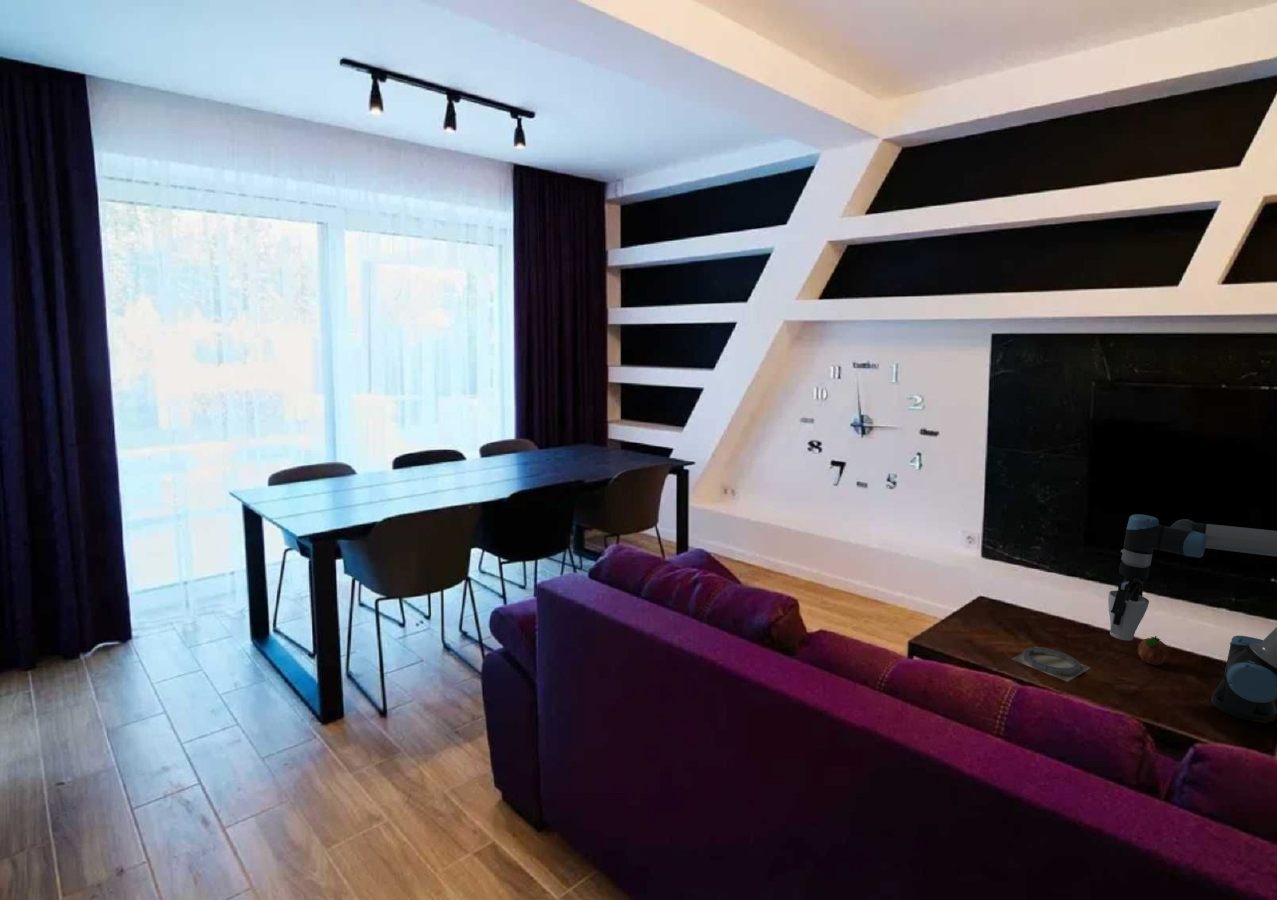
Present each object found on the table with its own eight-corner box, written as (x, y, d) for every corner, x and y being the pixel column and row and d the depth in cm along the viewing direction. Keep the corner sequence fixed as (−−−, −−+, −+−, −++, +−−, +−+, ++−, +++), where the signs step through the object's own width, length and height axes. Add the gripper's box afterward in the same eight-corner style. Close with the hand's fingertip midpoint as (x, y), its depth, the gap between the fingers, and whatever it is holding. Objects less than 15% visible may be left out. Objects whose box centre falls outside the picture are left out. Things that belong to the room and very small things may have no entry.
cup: (1102, 626, 227) (1109, 587, 225) (1141, 635, 221) (1149, 596, 219) (1101, 637, 219) (1108, 597, 216) (1141, 647, 213) (1149, 606, 210)
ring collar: (1087, 667, 234) (1088, 662, 233) (1065, 680, 224) (1066, 674, 224) (1037, 647, 247) (1037, 643, 246) (1014, 659, 237) (1015, 654, 237)
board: (1090, 670, 234) (1091, 667, 233) (1066, 685, 223) (1067, 681, 223) (1035, 649, 248) (1035, 646, 248) (1010, 662, 237) (1011, 658, 237)
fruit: (1170, 665, 241) (1176, 638, 239) (1159, 671, 235) (1164, 644, 234) (1142, 654, 248) (1147, 628, 246) (1130, 660, 243) (1135, 634, 241)
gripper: (1135, 554, 225) (1123, 617, 229) (1106, 565, 212) (1094, 633, 216) (1162, 561, 219) (1149, 626, 223) (1134, 573, 206) (1121, 642, 210)
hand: (1122, 629), depth 219 cm, fingers closed on cup, 10 cm apart
